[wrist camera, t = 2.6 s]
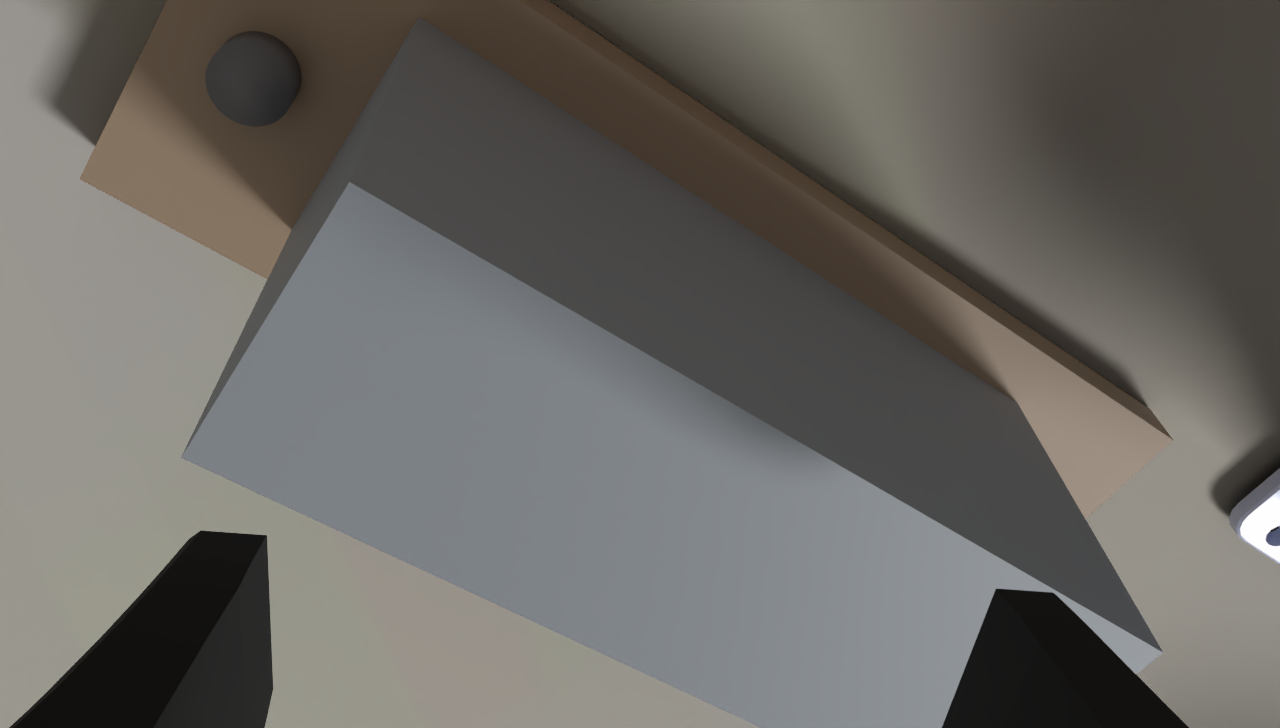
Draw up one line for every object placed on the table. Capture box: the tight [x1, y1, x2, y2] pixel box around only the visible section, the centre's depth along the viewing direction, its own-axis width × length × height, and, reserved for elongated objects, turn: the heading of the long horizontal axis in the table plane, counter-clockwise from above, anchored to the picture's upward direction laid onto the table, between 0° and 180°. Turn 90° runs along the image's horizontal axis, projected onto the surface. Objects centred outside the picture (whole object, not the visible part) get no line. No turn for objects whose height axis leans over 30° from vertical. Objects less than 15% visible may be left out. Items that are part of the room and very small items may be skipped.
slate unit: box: [80, 0, 1173, 728], centre depth 17 cm, size 18×6×7 cm, turn 55°
